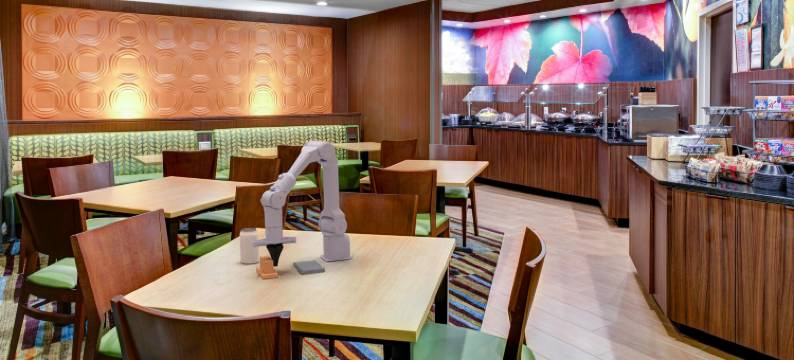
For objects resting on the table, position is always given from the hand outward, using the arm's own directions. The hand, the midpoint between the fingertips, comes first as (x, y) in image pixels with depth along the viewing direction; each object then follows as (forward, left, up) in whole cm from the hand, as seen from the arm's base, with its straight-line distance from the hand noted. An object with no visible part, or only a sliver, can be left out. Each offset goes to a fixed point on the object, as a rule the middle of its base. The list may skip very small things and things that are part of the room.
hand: (275, 265), depth 207 cm
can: (+5, -18, -3) cm, 19 cm away
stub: (+3, 0, -2) cm, 4 cm away
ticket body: (-12, 0, -2) cm, 12 cm away
